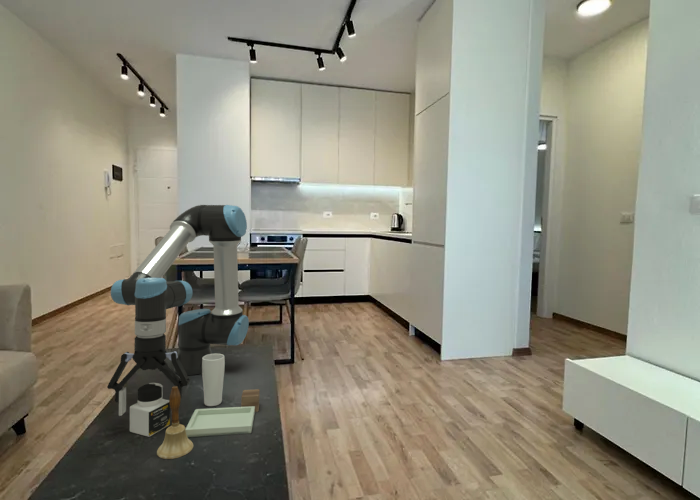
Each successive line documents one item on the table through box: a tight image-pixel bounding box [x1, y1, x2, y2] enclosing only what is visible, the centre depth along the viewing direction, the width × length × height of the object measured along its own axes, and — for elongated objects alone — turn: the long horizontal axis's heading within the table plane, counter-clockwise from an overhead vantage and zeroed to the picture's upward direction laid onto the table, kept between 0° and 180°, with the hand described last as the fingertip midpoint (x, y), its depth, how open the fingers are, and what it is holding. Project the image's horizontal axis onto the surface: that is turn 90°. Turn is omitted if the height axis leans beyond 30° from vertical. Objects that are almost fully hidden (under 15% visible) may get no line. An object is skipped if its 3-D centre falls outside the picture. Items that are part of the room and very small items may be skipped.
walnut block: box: [240, 388, 261, 413], centre depth 117 cm, size 5×5×5 cm
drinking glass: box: [201, 353, 226, 407], centre depth 120 cm, size 7×7×15 cm
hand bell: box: [156, 385, 194, 460], centre depth 94 cm, size 8×8×16 cm
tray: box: [185, 406, 256, 438], centre depth 107 cm, size 12×17×2 cm
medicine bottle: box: [129, 382, 171, 438], centre depth 104 cm, size 7×7×12 cm
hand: (149, 412), depth 104 cm, fingers open, 13 cm apart
